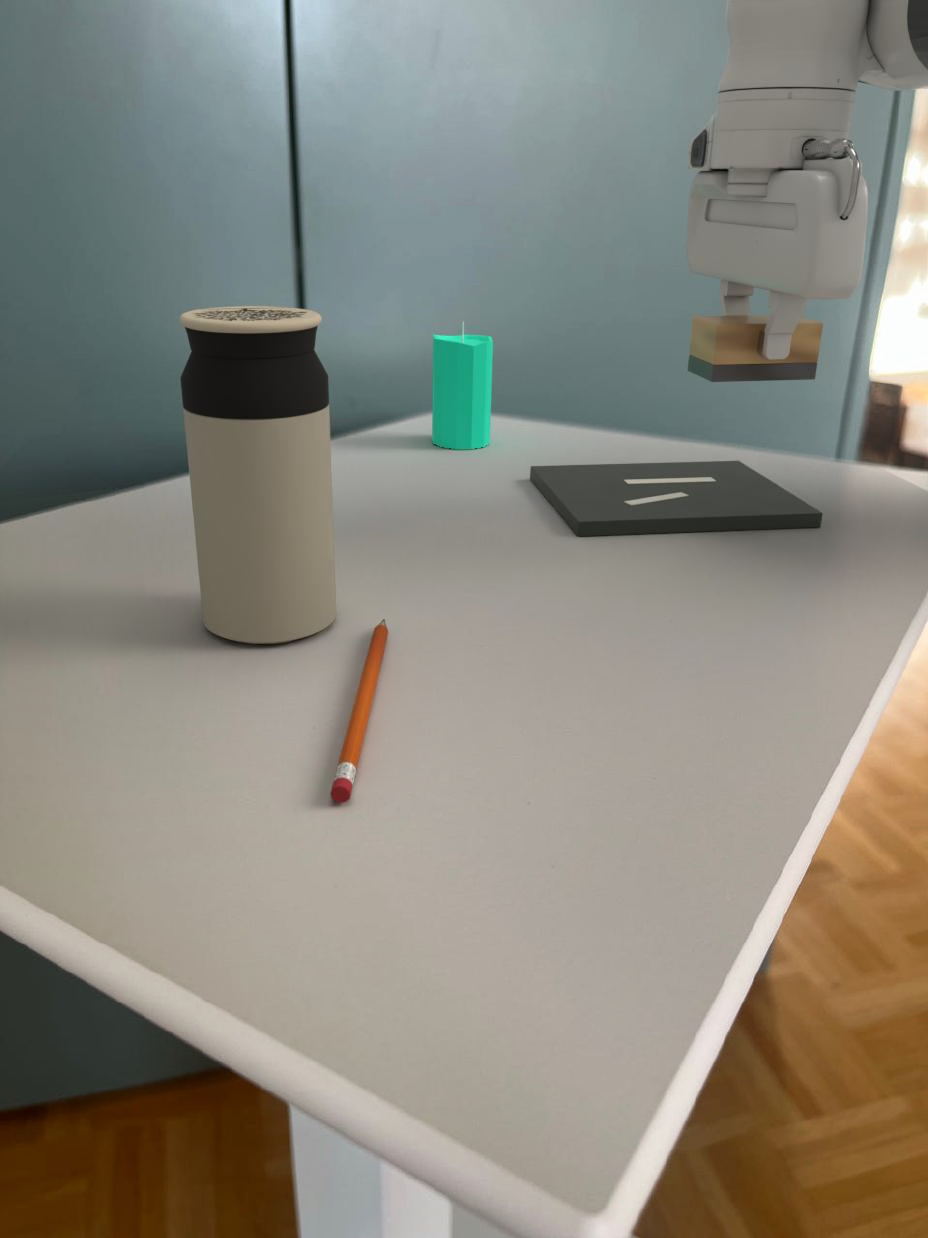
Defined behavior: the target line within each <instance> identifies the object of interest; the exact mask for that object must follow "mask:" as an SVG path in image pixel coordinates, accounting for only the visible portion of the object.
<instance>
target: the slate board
mask: <svg viewBox="0 0 928 1238" xmlns="http://www.w3.org/2000/svg"><path fill="white" fill-rule="evenodd" d="M529 473H530V474H529V480H531V482H532V483H533V484H534V485H535V487H537V489H538V490H539V492H541V494H542V495H543V496H544V498H545V499H546V500H547V501H548V502H549V504H550V505H551V506H552V507H553V508H554V509H555V511H556V512H557V513H558V514H559V516H560V517H561V518H562V519H563V520H564V522H565V523H566V524H567V525H568V527H569V528H570V529H571V531H573V532H574V534H575V535H576V536H577V537H596V536H597V537H600V536H624V535H626V536H627V535H649V534H651V535H652V534H677V533H701V532H703V533H704V532H705V533H706V532H727V531H729V532H730V531H731V532H733V531H755V530H756V531H757V530H780V529H781V530H784V529H802V528H803V529H808V528H809V529H810V528H821V525H822V519H823V512H822V511H821V510H819V509H817V508H815V507H814V506H812V505H810V504H809V503H807V502H806V501H804V500H802V498H799V497H798V496H796V495H795V494H794V493H791V492H789V490H786V489H785V488H784V487H782V486H780V485H779V484H777V483H775V482H774V481H772V480H771V479H770V478H767V477H766V476H764V475H763V474H761V473H759V472H757V471H756V470H755V469H753V468H751V467H750V466H748V465H746V464H745V463H743V462H741V461H740V460H715V461H714V460H713V461H710V460H709V461H676V462H675V461H674V462H670V461H669V462H640V463H639V462H636V463H599V464H595V463H594V464H566V465H565V464H562V465H561V464H560V465H559V464H558V465H531V466H530V472H529Z"/></svg>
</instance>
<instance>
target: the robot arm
mask: <svg viewBox="0 0 928 1238" xmlns="http://www.w3.org/2000/svg"><path fill="white" fill-rule="evenodd" d="M724 17H725V18H724V20H725V28H726V34H727V57H726V62H725V66H724V70H723V72H722V75H721V77H720V81H719V84H718V88H717V95H716V106H715V113H713V114H712V115H711V117H710V119H709V120H708V122H707V124H705V126H704V127H703V128H702V129H701V130H700V131H699V132H698V133H697V134H695V135H694V136H693V137H692V139H691V140H690V142H689V145H688V149H687V163H686V164H687V169H688V170H689V171H692V172H697V173H695V174H694V176H693V178H692V179H691V183H690V187H689V195H688V205H687V217H686V218H687V220H686V242H685V243H686V245H685V247H686V248H685V249H686V251H685V252H686V259H687V262H688V268H689V270H690V272H691V273H692V274H696V275H700V276H704V277H708V278H713V279H717V280H720V284H719V293H718V296H719V301H720V307H721V313H722V316H730V315H751V306H750V303H751V301H750V297H752V296H753V295H754V289H755V288H756V289H760V290H765V291H769V295H768V301H767V302H768V303H767V307H768V308H769V309H770V313H769V314H768V315H769V318H768V321H767V324H766V327H765V330H764V331H760V332H759V340H758V349H757V352H758V354H759V355H760V356H761V357H764V358H767V359H769V360H774V359H785V358H787V357H788V355H789V352H790V345H791V338H792V333H793V332H794V330H795V329H796V327H797V325H798V323H799V321H800V319H801V317H803V315H804V313H805V312H806V310H807V309H806V308H807V303H808V300H847V299H849V298H851V297H852V296H853V295H854V293H855V291H856V290H857V288H858V287H859V285H860V282H861V280H862V276H863V271H864V270H863V269H864V263H865V262H864V261H865V253H866V252H865V251H866V241H867V232H868V231H867V230H868V229H867V228H868V214H869V192H868V184H867V181H866V179H865V177H864V176H863V162H862V160H861V159H860V158H859V156H858V153H857V150H856V149H855V145H854V143H853V141H852V140H850V133H851V126H852V119H853V114H854V113H853V112H854V106H855V99H856V93H857V87H858V83H862V84H866V85H870V86H873V87H876V88H879V89H883V90H887V91H896V92H903V91H912V90H913V91H914V90H921V89H922V90H927V89H928V0H726V7H725V16H724ZM848 157H849V158H848Z"/></svg>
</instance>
